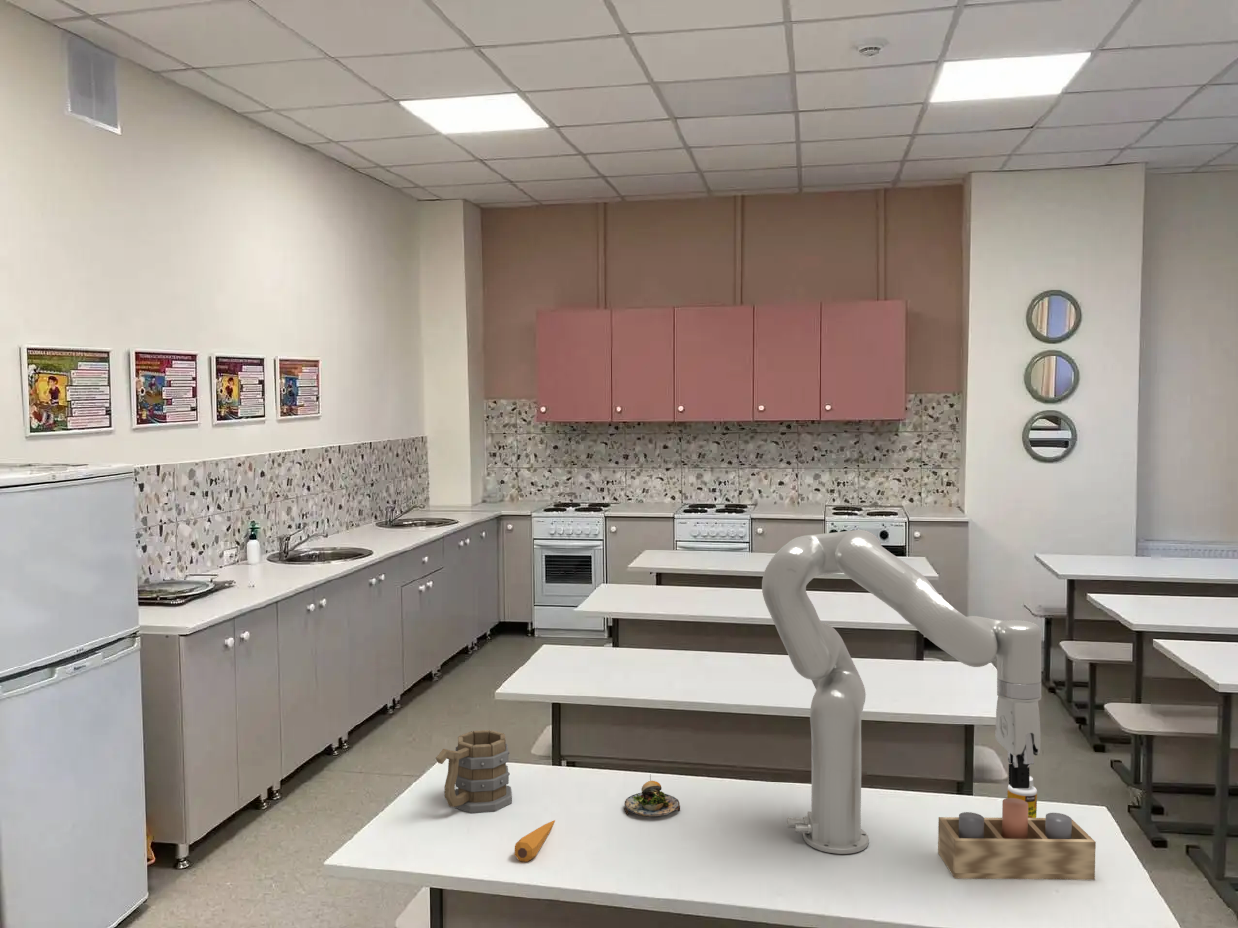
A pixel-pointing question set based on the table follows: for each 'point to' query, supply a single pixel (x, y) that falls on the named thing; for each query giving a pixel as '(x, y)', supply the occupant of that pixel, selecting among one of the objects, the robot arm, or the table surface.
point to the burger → (651, 801)
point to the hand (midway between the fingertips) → (1019, 786)
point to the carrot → (532, 842)
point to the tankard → (478, 772)
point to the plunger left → (971, 825)
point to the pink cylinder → (1014, 819)
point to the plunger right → (1058, 826)
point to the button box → (1016, 853)
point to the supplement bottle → (1026, 797)
